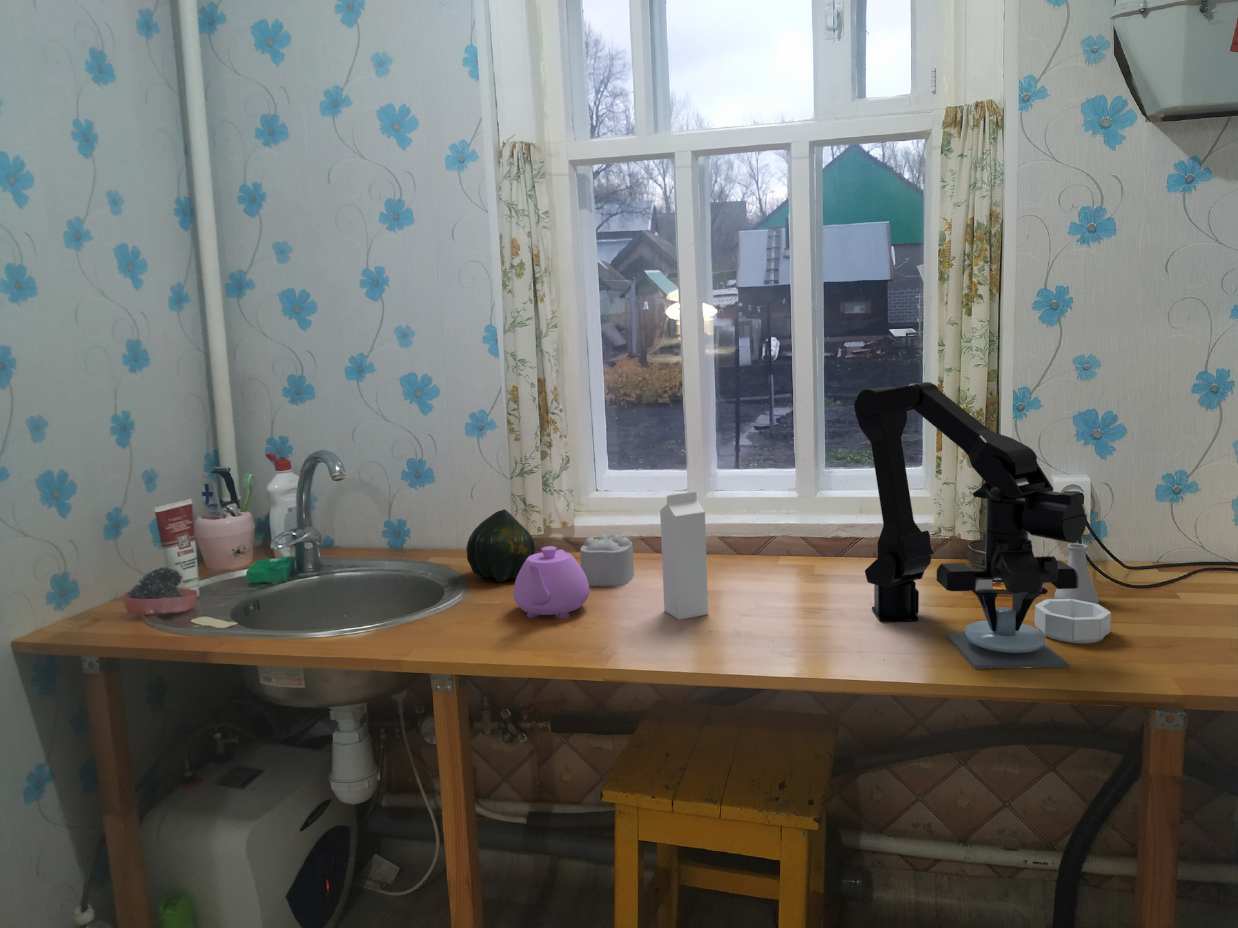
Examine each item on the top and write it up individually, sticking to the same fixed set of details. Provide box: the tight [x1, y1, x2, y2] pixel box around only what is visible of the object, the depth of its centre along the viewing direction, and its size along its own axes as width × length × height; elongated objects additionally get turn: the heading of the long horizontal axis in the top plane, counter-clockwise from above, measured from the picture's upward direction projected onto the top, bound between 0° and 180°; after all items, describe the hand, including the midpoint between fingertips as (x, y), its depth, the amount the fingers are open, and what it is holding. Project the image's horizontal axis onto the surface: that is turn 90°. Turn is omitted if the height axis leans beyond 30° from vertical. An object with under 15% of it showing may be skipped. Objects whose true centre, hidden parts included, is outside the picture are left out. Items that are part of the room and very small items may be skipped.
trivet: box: [946, 632, 1070, 670], centre depth 126 cm, size 13×13×1 cm
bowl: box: [1034, 598, 1112, 645], centre depth 131 cm, size 10×10×4 cm
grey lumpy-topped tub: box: [579, 533, 635, 587], centre depth 174 cm, size 10×13×9 cm
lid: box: [964, 606, 1046, 653], centre depth 125 cm, size 11×11×4 cm
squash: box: [466, 509, 536, 583], centre depth 178 cm, size 14×15×15 cm
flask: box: [1053, 542, 1100, 604], centre depth 146 cm, size 7×7×10 cm
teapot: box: [512, 545, 591, 620], centre depth 153 cm, size 20×14×12 cm
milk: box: [659, 491, 709, 621], centre depth 148 cm, size 6×6×22 cm
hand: (1004, 630), depth 125 cm, fingers closed on lid, 3 cm apart
